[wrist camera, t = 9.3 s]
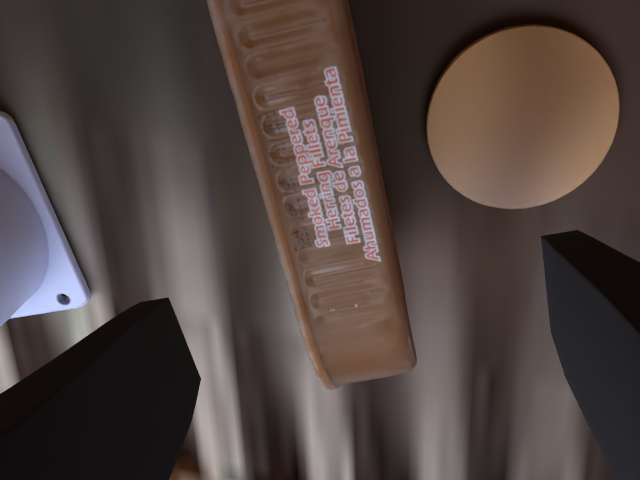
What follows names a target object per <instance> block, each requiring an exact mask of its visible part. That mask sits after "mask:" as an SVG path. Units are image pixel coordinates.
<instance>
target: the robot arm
mask: <svg viewBox="0 0 640 480" xmlns="http://www.w3.org/2000/svg"><path fill="white" fill-rule="evenodd" d="M541 240H542V250H543V259H544V269H545V279H546V289H547V298H548V308H549V318H550V328H551V334H552V337H553V340H554V343H555V346H556V349H557V353H558V356H559V359H560V362H561V365H562V368H563V371H564V374H565V377H566V379H567V381H568V383H569V386H570V388H571V390H572V392H573V394H574V396H575V398H576V400H577V402H578V404H579V406H580V409H581V411H582V413H583V415H584V417H585V419H586V421H587V423H588V425H589V427H590V429H591V431H592V433H593V435H594V437H595V439H596V442H597V444H598V446H599V448H600V450H601V452H602V454H603V456H604V458H605V460H606V462H607V464H608V466H609V468H610V470H611V472H612V474H613V477H614V479H615V480H640V262H638V261H636V260H634V259H632V258H630V257H628V256H626V255H624V254H622V253H621V252H619V251H617V250H615V249H613V248H611V247H609V246H607V245H606V244H604V243H602V242H600V241H598V240H596V239H594V238H593V237H591V236H589V235H587V234H585V233H583V232H580V231H578V230H575V231H569V232H563V233H557V234H551V235H545V236H541ZM62 294H65V295H67V296H68V297H69V299H70V300H67V299H66V298H64V297H63V295H62ZM90 297H91V294H90V290H89V288H88V286H87V284H86V281H85V279H84V277H83V275H82V272H81V270H80V268H79V266H78V263H77V261H76V259H75V257H74V254H73V252H72V250H71V248H70V245H69V243H68V241H67V239H66V236H65V234H64V232H63V230H62V227H61V225H60V223H59V221H58V218H57V216H56V214H55V212H54V209H53V207H52V205H51V203H50V200H49V198H48V196H47V194H46V191H45V189H44V187H43V185H42V182H41V180H40V178H39V176H38V173H37V171H36V169H35V166H34V164H33V162H32V160H31V157H30V155H29V153H28V151H27V148H26V146H25V144H24V142H23V139H22V137H21V135H20V133H19V130H18V128H17V126H16V124H15V122H14V120H13V119H12V117H11V116H10V115H8V114H7V113H5V112H2V111H0V327H1V326H2V325H3V324H4V323H5V322H6V321H7V320H8V319H10V318H16V317H23V316H29V315H35V314H42V313H48V312H54V311H61V310H67V309H73V308H80V307H83V306H84V305H85V304H86V303H87V302H88V301H89V300H90ZM200 381H201V378H200V375H199V373H198V370H197V368H196V365H195V363H194V360H193V358H192V355H191V353H190V350H189V348H188V345H187V343H186V340H185V338H184V335H183V333H182V330H181V328H180V325H179V323H178V320H177V317H176V315H175V312H174V310H173V307H172V305H171V302H170V300H169V298H163V299H157V300H151V301H145V302H140V303H138V304H136V305H134V306H132V307H130V308H129V309H127V310H125V311H124V312H122V313H120V314H119V315H117V316H116V317H114V318H113V319H111V320H110V321H108V322H107V323H105V324H104V325H102V326H101V327H99V328H98V329H97V330H95V331H94V332H92V333H91V334H89V335H88V336H86V337H85V338H84V339H82V340H81V341H79V342H78V343H76V344H75V345H74V346H72V347H71V348H69V349H68V350H66V351H65V352H64V353H62V354H61V355H59V356H58V357H56V358H55V359H53V360H52V361H50V362H49V363H47V364H46V365H44V366H43V367H41V368H40V369H38V370H37V371H35V372H34V373H32V374H30V375H29V376H27V377H26V378H24V379H23V380H21V381H20V382H18V383H17V384H15V385H14V386H12V387H11V388H9V389H7V390H6V391H4V392H3V393H1V394H0V480H169V478H170V476H171V473H172V471H173V468H174V466H175V463H176V461H177V458H178V456H179V453H180V450H181V448H182V445H183V443H184V440H185V438H186V435H187V432H188V430H189V427H190V424H191V421H192V417H193V413H194V409H195V405H196V400H197V396H198V391H199V386H200Z"/></svg>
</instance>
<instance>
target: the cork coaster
mask: <svg viewBox="0 0 640 480" xmlns="http://www.w3.org/2000/svg"><path fill="white" fill-rule="evenodd" d="M619 107H620V103H619V94H618V89H617V85H616V81H615V78H614V76H613V74H612V71H611V69H610V67H609V66H608V64H607V63H606V61H605V59H604V58H603V57H602V56H601V55H600V54H599V52H598V51H597V50H596V49H595V48H594V47H592V46H591V45H590V44H589V43H588V42H586V41H585V40H583V39H582V38H580V37H578V36H577V35H575V34H573V33H570V32H568V31H566V30H563V29H560V28H557V27H553V26H548V25H540V24H522V25H516V26H510V27H506V28H503V29H499V30H496V31H494V32H491V33H489V34H487V35H484V36H483V37H481V38H479V39H478V40H476V41H474V42H472V43H471V44H470V45H469V46H467V47H466V48H465V49H463V50H462V51H461V52H460V53H459V54H458V55H457V56H456V57H455V58H454V59H453V60H452V61H451V62H450V63H449V65H448V66H447V67H446V68H445V70H444V71H443V73H442V74H441V76H440V77H439V79H438V81H437V83H436V85H435V87H434V89H433V91H432V94H431V98H430V101H429V104H428V110H427V115H426V133H427V141H428V145H429V150H430V153H431V156H432V158H433V161H434V163H435V165H436V167H437V169H438V170H439V172H440V173H441V175H442V176H443V177H444V179H445V180H446V181H447V182H448V183H449V184H450V185H451V186H452V187H453V188H454V189H455V190H457V191H458V192H459V193H461V194H462V195H463V196H465V197H467V198H469V199H471V200H472V201H475V202H477V203H480V204H482V205H486V206H490V207H494V208H502V209H523V208H531V207H535V206H539V205H543V204H546V203H549V202H552V201H554V200H556V199H558V198H560V197H562V196H564V195H566V194H567V193H569V192H571V191H572V190H574V189H575V188H577V187H578V186H579V185H580V184H582V183H583V182H584V181H585V180H586V179H587V178H588V177H589V176H590V175H591V174H592V173H593V172H594V171H595V170H596V168H597V167H598V166H599V165H600V164H601V162H602V161H603V159H604V157H605V156H606V154H607V153H608V150H609V148H610V146H611V144H612V142H613V139H614V136H615V133H616V130H617V125H618V120H619Z"/></svg>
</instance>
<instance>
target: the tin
mask: <svg viewBox="0 0 640 480" xmlns="http://www.w3.org/2000/svg"><path fill="white" fill-rule="evenodd" d="M207 4H208V8H209V12H210V16H211V19H212V23H213V27H214V30H215V34H216V37H217V41H218V44H219V47H220V51H221V54H222V58H223V62H224V65H225V69H226V72H227V76H228V79H229V83H230V86H231V89H232V93H233V96H234V99H235V102H236V106H237V110H238V114H239V118H240V121H241V124H242V128H243V132H244V135H245V139H246V142H247V145H248V148H249V152H250V156H251V159H252V163H253V166H254V168H255V173H256V176H257V179H258V183H259V187H260V190H261V194H262V198H263V201H264V204H265V208H266V211H267V215H268V219H269V223H270V226H271V229H272V232H273V235H274V240H275V243H276V246H277V250H278V254H279V258H280V262H281V265H282V268H283V271H284V274H285V278H286V281H287V285H288V289H289V293H290V297H291V300H292V303H293V307H294V311H295V314H296V318H297V321H298V325H299V328H300V332H301V335H302V338H303V342H304V345H305V347H306V350H307V353H308V355H309V358H310V360H311V362H312V365H313V367H314V370H315V372H316V374H317V376H318V378H319V379H320V381H321V382H322V384H323V385H324V386H325V387H326V388H327V389H330V390H333V389H336V388H338V387H339V386H341V385H343V384H347V383H353V382H360V381H366V380H372V379H377V378H383V377H388V376H393V375H397V374H402V373H405V372H408V371H410V370H412V369H413V368H414V367H415V365H416V362H417V359H416V352H415V347H414V342H413V337H412V333H411V328H410V322H409V317H408V312H407V306H406V301H405V292H404V285H403V280H402V275H401V269H400V264H399V259H398V254H397V249H396V243H395V238H394V233H393V228H392V223H391V218H390V213H389V208H388V203H387V197H386V192H385V187H384V182H383V176H382V171H381V166H380V160H379V154H378V149H377V143H376V138H375V132H374V127H373V122H372V116H371V111H370V105H369V100H368V95H367V90H366V85H365V79H364V74H363V69H362V64H361V59H360V54H359V50H358V45H357V40H356V35H355V30H354V26H353V21H352V16H351V11H350V7H349V2H348V0H207Z"/></svg>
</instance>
